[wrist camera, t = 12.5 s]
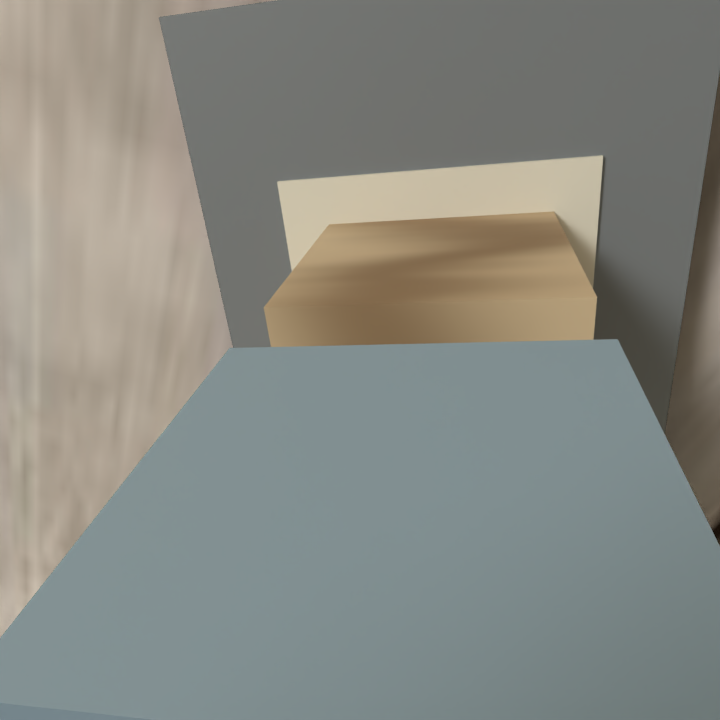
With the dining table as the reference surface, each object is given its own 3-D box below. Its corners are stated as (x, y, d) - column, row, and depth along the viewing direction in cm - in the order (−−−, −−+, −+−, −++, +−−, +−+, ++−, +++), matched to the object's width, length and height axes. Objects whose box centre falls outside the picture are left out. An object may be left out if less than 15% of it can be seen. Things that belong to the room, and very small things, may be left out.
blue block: (617, 339, 7) (843, 795, 3) (588, 622, 9) (688, 1116, 5) (229, 347, 8) (-49, 697, 4) (288, 602, 10) (156, 1004, 6)
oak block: (553, 211, 13) (596, 297, 8) (544, 408, 15) (574, 555, 11) (328, 224, 14) (264, 307, 9) (351, 407, 16) (307, 543, 12)
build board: (715, -55, 11) (742, -67, 10) (637, 511, 18) (649, 542, 17) (183, 18, 13) (156, 17, 12) (283, 501, 20) (272, 529, 19)
